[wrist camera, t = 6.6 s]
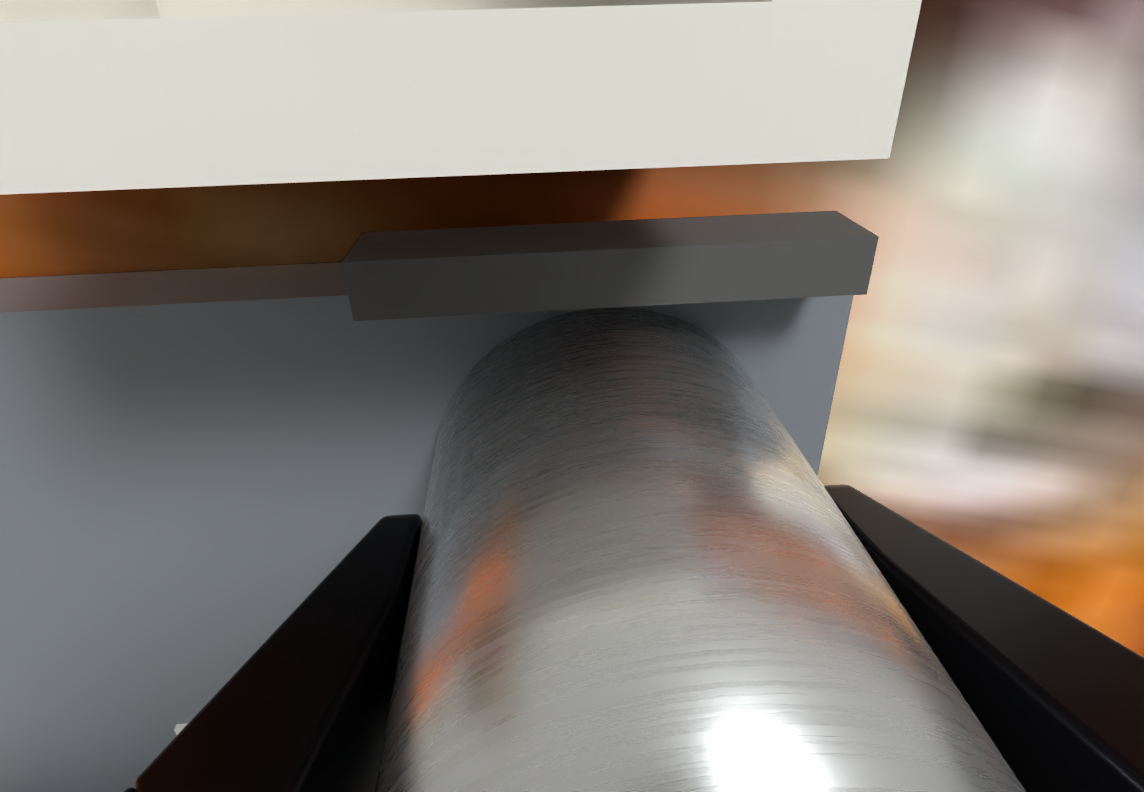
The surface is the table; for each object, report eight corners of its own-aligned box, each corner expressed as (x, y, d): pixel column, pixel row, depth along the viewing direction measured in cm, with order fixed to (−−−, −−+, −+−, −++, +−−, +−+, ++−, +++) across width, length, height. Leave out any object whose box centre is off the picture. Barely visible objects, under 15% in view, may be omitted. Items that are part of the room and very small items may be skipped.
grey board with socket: (826, 185, 8) (980, 268, 6) (719, 834, 16) (762, 1004, 13) (-354, 236, 8) (-846, 360, 5) (127, 893, 15) (42, 1086, 13)
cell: (789, 297, 8) (2017, 1551, 1) (748, 571, 10) (1165, 1549, 4) (413, 318, 8) (-119, 1944, 1) (456, 593, 10) (349, 1680, 3)
